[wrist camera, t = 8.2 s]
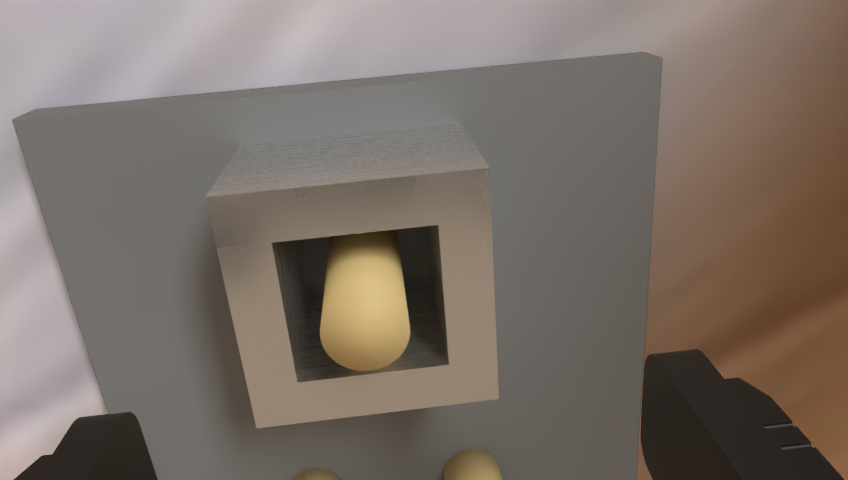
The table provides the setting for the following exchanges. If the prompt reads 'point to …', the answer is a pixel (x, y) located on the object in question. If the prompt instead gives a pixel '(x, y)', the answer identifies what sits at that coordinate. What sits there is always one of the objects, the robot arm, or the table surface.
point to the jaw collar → (351, 214)
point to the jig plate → (535, 261)
